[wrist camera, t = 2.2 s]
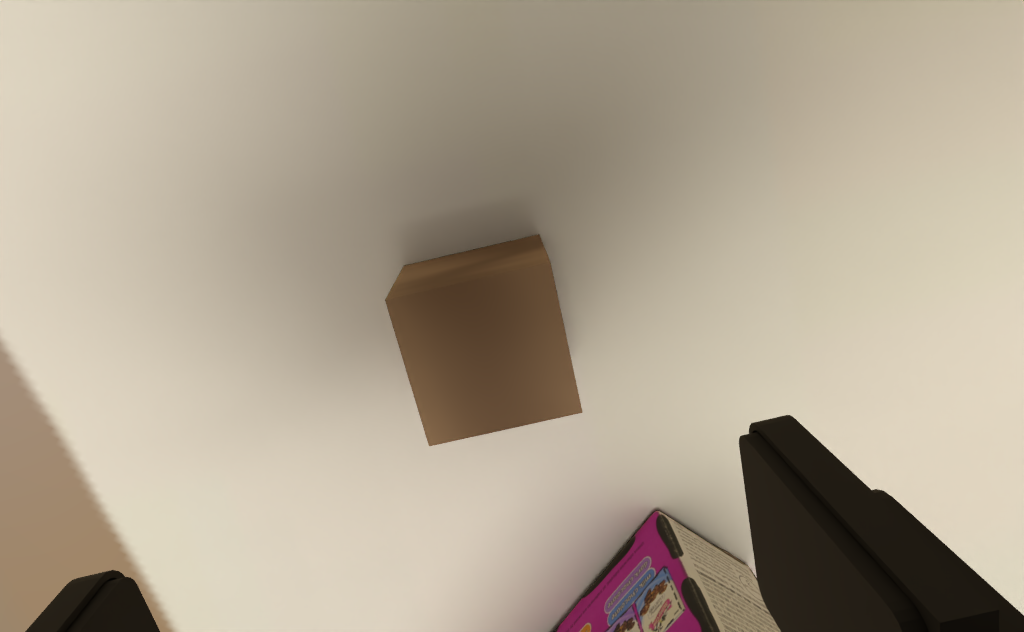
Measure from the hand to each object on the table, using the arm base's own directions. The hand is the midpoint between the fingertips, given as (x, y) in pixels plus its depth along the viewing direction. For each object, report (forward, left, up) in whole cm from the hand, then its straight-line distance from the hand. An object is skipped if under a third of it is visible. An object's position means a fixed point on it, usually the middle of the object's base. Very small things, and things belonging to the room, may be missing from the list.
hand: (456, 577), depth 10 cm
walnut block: (-1, 0, -12) cm, 12 cm away
